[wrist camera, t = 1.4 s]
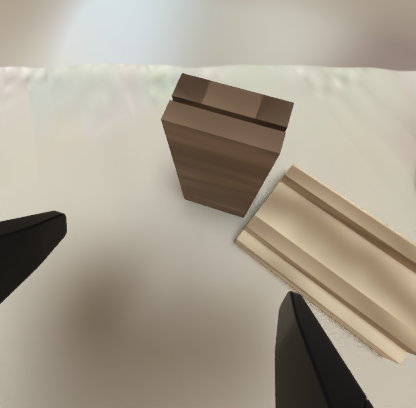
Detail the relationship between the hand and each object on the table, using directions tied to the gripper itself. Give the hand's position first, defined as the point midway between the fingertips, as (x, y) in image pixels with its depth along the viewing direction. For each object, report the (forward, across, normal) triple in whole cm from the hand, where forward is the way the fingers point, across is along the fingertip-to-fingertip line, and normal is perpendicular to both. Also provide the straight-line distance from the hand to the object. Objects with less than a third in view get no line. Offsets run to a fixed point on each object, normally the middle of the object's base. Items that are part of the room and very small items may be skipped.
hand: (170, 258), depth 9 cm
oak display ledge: (+13, -11, +6) cm, 18 cm away
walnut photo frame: (+15, 0, +4) cm, 15 cm away
